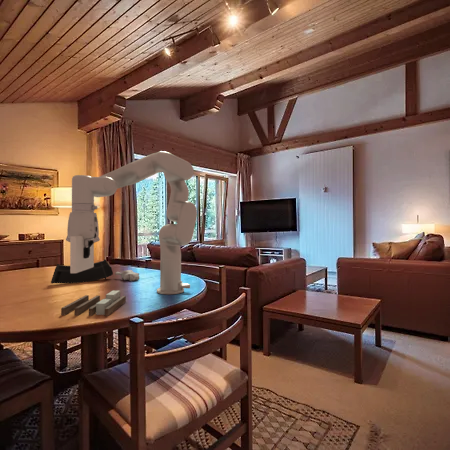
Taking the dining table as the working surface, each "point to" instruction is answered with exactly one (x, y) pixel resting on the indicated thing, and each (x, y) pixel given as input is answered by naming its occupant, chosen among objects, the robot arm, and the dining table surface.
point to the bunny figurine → (129, 275)
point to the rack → (90, 306)
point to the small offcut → (102, 306)
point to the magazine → (82, 273)
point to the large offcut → (113, 296)
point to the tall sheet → (80, 255)
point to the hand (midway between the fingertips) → (82, 257)
